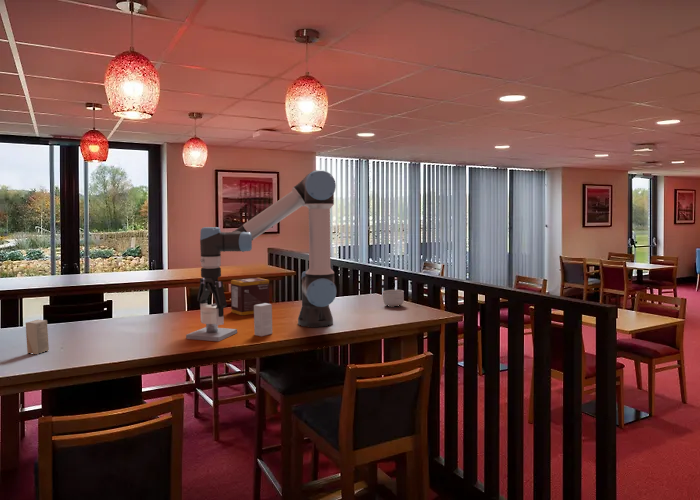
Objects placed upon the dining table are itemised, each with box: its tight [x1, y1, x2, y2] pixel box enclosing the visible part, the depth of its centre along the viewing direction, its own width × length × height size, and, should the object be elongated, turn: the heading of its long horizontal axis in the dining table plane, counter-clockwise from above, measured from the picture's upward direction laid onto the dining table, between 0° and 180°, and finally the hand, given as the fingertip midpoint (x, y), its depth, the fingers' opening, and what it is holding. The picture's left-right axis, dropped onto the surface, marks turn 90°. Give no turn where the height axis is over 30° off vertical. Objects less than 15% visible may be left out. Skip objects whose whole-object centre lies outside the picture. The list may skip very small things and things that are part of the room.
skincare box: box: [253, 303, 273, 337], centre depth 205 cm, size 6×4×12 cm
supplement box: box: [230, 277, 270, 316], centre depth 250 cm, size 10×15×16 cm
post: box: [205, 324, 219, 333], centre depth 203 cm, size 4×4×8 cm
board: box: [185, 326, 238, 342], centre depth 203 cm, size 14×14×2 cm
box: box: [25, 319, 50, 354], centre depth 178 cm, size 5×4×11 cm
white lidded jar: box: [200, 302, 217, 325], centre depth 203 cm, size 8×8×7 cm
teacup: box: [382, 289, 405, 306], centre depth 266 cm, size 14×11×8 cm
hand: (211, 322), depth 203 cm, fingers open, 12 cm apart
